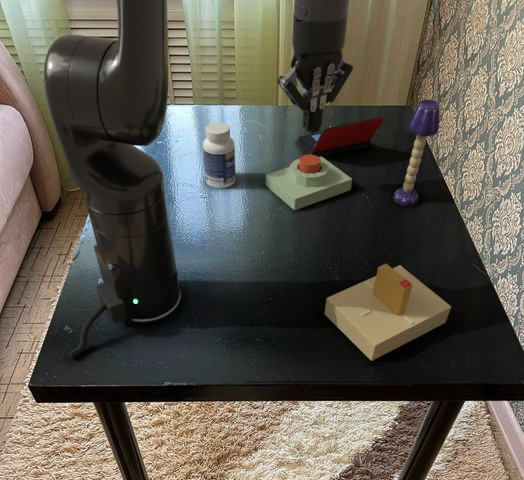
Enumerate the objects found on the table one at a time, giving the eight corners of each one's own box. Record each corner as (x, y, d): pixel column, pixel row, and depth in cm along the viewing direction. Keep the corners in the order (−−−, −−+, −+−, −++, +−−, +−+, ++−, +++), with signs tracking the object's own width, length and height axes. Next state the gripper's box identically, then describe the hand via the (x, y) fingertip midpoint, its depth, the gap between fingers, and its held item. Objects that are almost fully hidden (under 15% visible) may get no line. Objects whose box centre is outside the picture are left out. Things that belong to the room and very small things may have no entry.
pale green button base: (294, 210, 90) (295, 189, 87) (265, 185, 95) (265, 164, 92) (350, 190, 94) (353, 169, 91) (320, 167, 99) (322, 146, 96)
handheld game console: (351, 130, 109) (356, 93, 103) (378, 155, 102) (385, 117, 97) (295, 141, 106) (297, 103, 100) (319, 168, 99) (323, 129, 94)
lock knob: (372, 293, 72) (378, 265, 68) (380, 289, 72) (386, 261, 69) (397, 315, 69) (405, 287, 66) (405, 311, 70) (413, 283, 66)
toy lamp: (425, 203, 91) (451, 105, 79) (403, 211, 90) (427, 112, 77) (407, 190, 94) (430, 93, 82) (386, 197, 93) (406, 99, 80)
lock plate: (371, 361, 68) (375, 344, 66) (324, 314, 73) (326, 297, 71) (445, 322, 73) (452, 305, 70) (395, 281, 78) (400, 264, 76)
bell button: (307, 176, 90) (307, 167, 89) (294, 167, 92) (295, 157, 91) (324, 171, 91) (325, 161, 90) (311, 161, 93) (312, 152, 92)
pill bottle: (231, 190, 94) (229, 137, 86) (202, 187, 94) (197, 133, 87) (238, 174, 97) (237, 122, 90) (210, 171, 98) (206, 118, 91)
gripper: (341, -6, 78) (329, 112, 91) (265, 10, 74) (264, 131, 87) (375, 9, 74) (357, 130, 87) (297, 27, 70) (291, 152, 83)
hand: (311, 130), depth 87 cm, fingers closed
